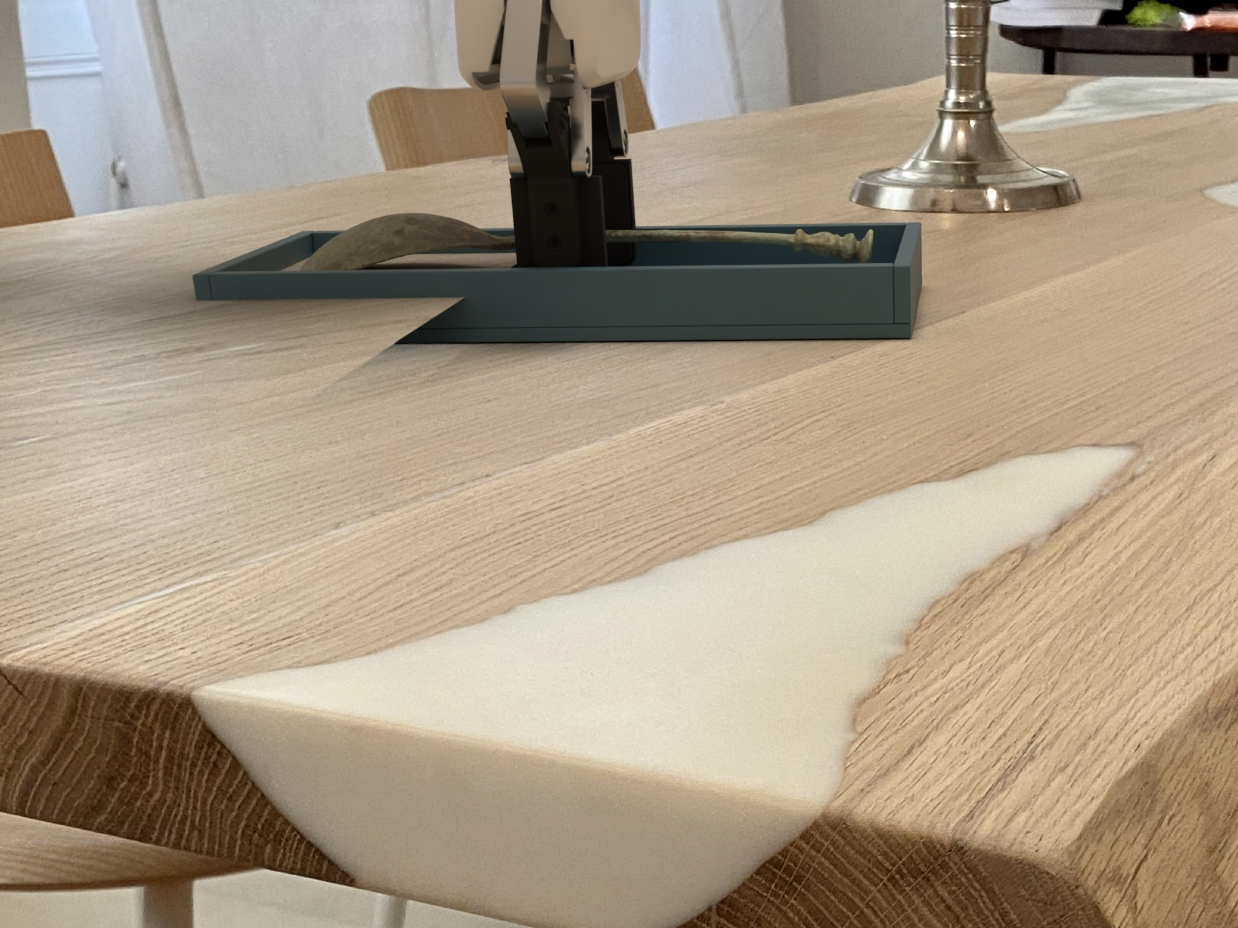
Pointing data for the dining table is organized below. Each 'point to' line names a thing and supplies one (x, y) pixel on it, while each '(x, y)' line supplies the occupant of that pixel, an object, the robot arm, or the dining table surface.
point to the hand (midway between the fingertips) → (580, 272)
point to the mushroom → (440, 232)
